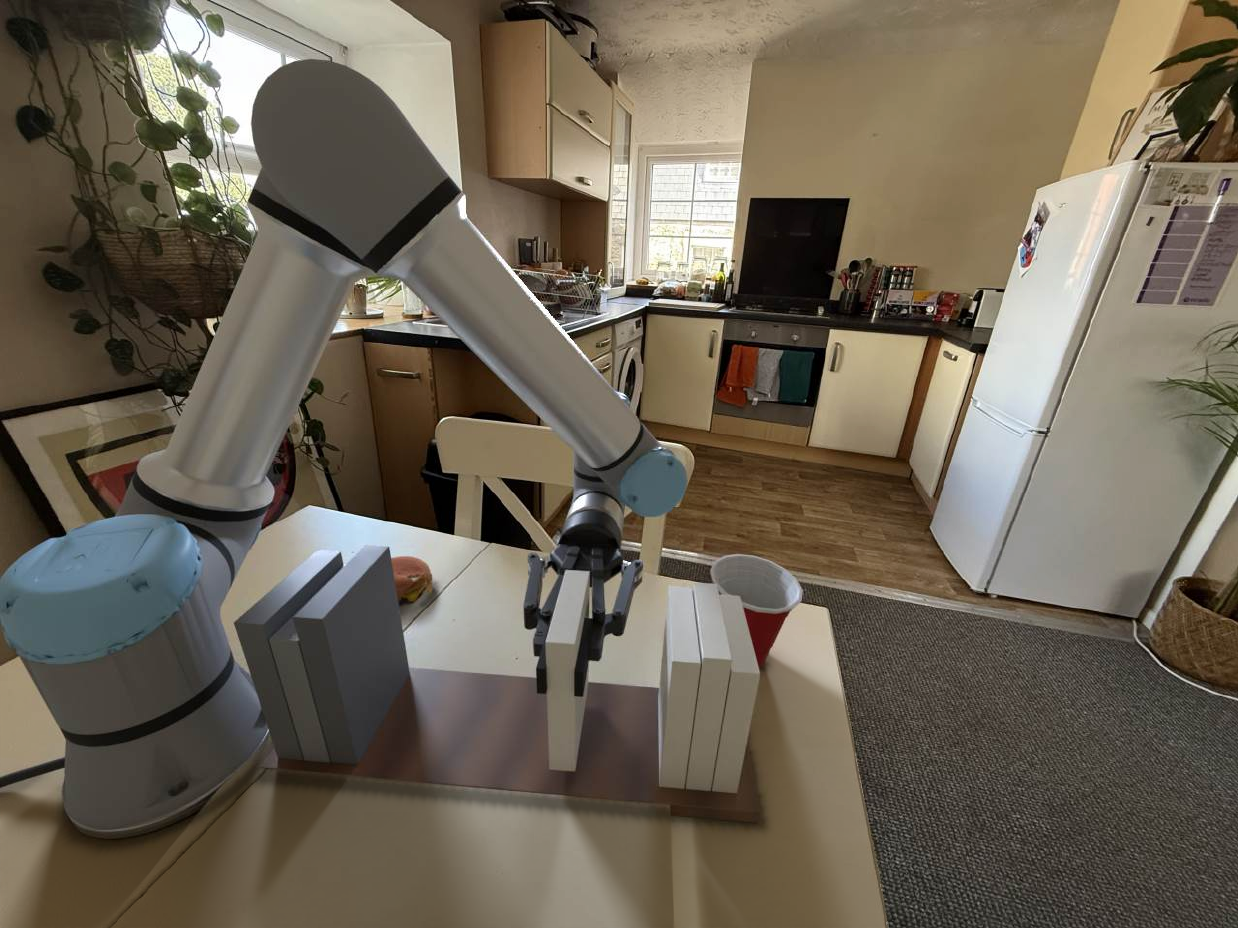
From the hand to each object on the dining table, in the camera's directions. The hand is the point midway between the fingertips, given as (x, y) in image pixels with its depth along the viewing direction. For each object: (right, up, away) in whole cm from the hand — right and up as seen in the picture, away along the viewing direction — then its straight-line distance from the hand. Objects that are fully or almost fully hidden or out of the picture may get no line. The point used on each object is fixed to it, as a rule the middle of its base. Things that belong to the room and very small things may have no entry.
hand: (559, 682), depth 41 cm
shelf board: (-5, -10, +11) cm, 16 cm away
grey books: (-23, -8, +11) cm, 27 cm away
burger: (-27, -1, +31) cm, 41 cm away
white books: (+12, -10, +9) cm, 18 cm away
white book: (0, -8, +9) cm, 12 cm away
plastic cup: (+21, -7, +22) cm, 31 cm away
